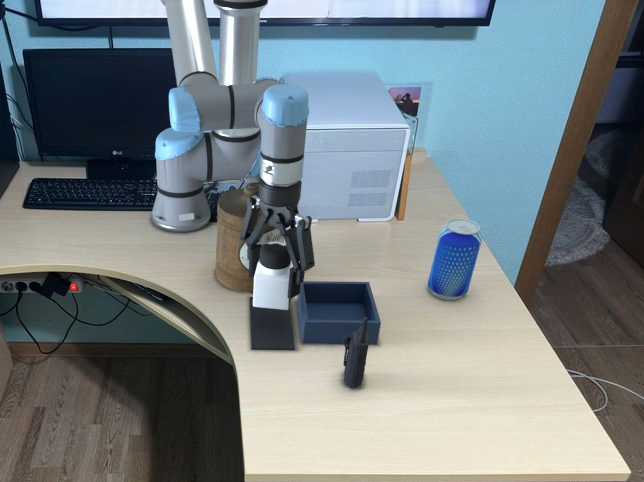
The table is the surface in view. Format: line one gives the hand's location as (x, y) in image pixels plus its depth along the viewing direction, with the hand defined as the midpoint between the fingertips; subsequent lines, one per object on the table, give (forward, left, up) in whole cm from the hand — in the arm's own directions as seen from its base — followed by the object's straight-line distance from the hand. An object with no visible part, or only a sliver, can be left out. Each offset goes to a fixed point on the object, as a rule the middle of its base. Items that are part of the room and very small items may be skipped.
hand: (273, 285), depth 133 cm
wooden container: (-19, -4, -9) cm, 21 cm away
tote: (-1, +13, -9) cm, 16 cm away
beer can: (-13, +39, -9) cm, 42 cm away
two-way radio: (+17, +14, -9) cm, 24 cm away
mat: (0, 0, -9) cm, 9 cm away
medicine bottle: (0, 0, -4) cm, 4 cm away
